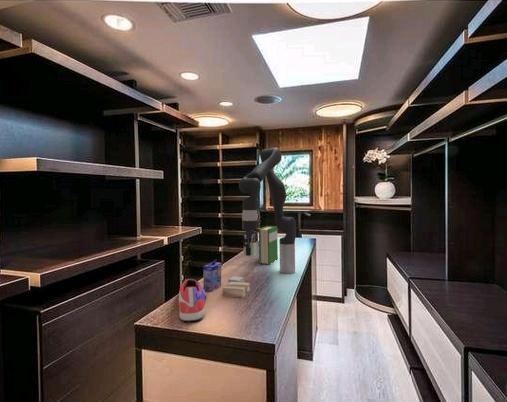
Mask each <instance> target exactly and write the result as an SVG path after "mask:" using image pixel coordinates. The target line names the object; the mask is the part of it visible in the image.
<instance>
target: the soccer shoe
mask: <svg viewBox="0 0 507 402" xmlns="http://www.w3.org/2000/svg"><path fill="white" fill-rule="evenodd" d="M206 299H207V292H206V290H204V289H203V286H202V285H201V282H200V281H198V280H196V279H194V278H187V279H185V280H184V281H183V282H182V284H181V285H180V287H179V291H178V309H179V310H178V311H179V319H180V320H181V321H182V322H183V323H185V322H194V321H195V322H197V321H202V320H203V318H204V317H205V314H206V313H205V312H206V309H205V308H206V307H205V305H206Z"/></svg>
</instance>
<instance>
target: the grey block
mask: <svg viewBox="0 0 507 402" xmlns="http://www.w3.org/2000/svg"><path fill="white" fill-rule="evenodd" d="M227 282H228V283H230V282H241V283H245V277H242V276H236V275H233V276H231V277H230V278H228V280H227ZM228 283H227V284H228Z"/></svg>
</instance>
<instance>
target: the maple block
mask: <svg viewBox="0 0 507 402" xmlns="http://www.w3.org/2000/svg"><path fill="white" fill-rule="evenodd" d="M250 285H251V284H250V282H244V283H241V282H230V283H227V284H226V285H225V286H224V287H222V296H224V297H232V298H243V299H244V298H245V296H246V295H247V294H249V292H250V290H251V288H250Z"/></svg>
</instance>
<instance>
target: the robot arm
mask: <svg viewBox="0 0 507 402" xmlns="http://www.w3.org/2000/svg"><path fill="white" fill-rule="evenodd" d="M259 155H260V156H259V157H260V161H261V162H260V163H259V164H257V165H256V166H255V167H254V168H253V169H252V170H251V172H250V173H248V174H247V175H245V176H243V177H242V178H241V179H240V181H239V183H238V189H239V191H240V192H242V193H244V194H250V195H249V196H248V197H245V198H243V199H242V214H241V219H242V220H241V221H242V222H241V223H242V224H241V226H242V228H241V229H242V230H245V233H244V234H243V235H242V240H243V241H242V242H243V248H244V247H245V248H246V255H247V256H250V255H251V243H257V235H258V234H257V231H255V230H259V224H258V223H259V222H258V221H259V220H258V218H259V217H258V200H259V196H260V191H261V188H262V183H261V182H263V181H264V179H265V178H266V181H267V186H268V189H269V194H270V198H271V203H272V207H273V212H274V219H275V226H277V231H279V232H283V233H285V235H284V236H283V237H279V242H278V243H279V272H280V273H281V274H294V273H296V246H295V245H296V237H297V220H296V219H295V217H292V216H285V215H284V214H285V213H284V205H285V202H286V199H287V192H286V186H285V184H284V182H283V181H282V180H281V179H280V178H279V177H278V175H276V173H275V171H274V170H273V169H274V168H275V167H276V166H277V165H279V164H280V162H281V161H282V156H283V155H282V151H281V149H280V148H279V147H270V148H265V149H261V151H260V154H259ZM247 243H248V244H247ZM247 256H246V257H247Z"/></svg>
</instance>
